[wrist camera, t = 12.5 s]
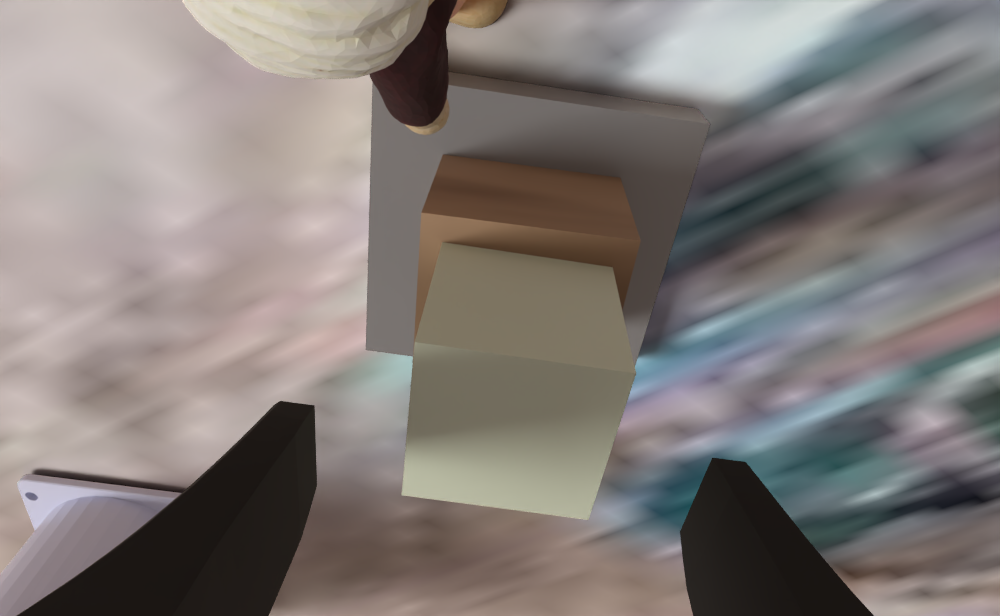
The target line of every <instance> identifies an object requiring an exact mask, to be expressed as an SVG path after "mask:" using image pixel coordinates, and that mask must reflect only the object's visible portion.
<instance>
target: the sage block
mask: <svg viewBox="0 0 1000 616" xmlns="http://www.w3.org/2000/svg"><path fill="white" fill-rule="evenodd" d="M635 375H636V371H635V366H634V362H633V357H632V353H631V348H630V344H629V339H628V335H627V330H626V325H625V321H624V316H623V312H622V307H621V303H620V298H619V294H618V289H617V285H616V280H615V276H614V271H613V267H607V266H600V265H594V264H587V263H580V262H573V261H567V260H560V259H553V258H546V257H540V256H533V255H526V254H519V253H512V252H506V251H499V250H492V249H485V248H479V247H472V246H465V245H458V244H452V243H445V242H442V245H441V248H440V252H439V256H438V259H437V263H436V267H435V270H434V274H433V277H432V281H431V285H430V288H429V292H428V296H427V299H426V303H425V307H424V310H423V314H422V317H421V321H420V325H419V328H418V332H417V336H416V339H415V345H414V356H413V368H412V380H411V391H410V403H409V414H408V426H407V438H406V449H405V461H404V473H403V484H402V495H404V496H411V497H419V498H426V499H434V500H441V501H449V502H456V503H464V504H472V505H479V506H487V507H494V508H502V509H509V510H517V511H524V512H532V513H539V514H547V515H554V516H562V517H569V518H577V519H585V520H588V519H589V516H590V513H591V510H592V507H593V504H594V501H595V498H596V495H597V492H598V489H599V486H600V483H601V480H602V476H603V473H604V470H605V467H606V464H607V461H608V458H609V455H610V452H611V449H612V446H613V443H614V440H615V437H616V433H617V430H618V427H619V424H620V421H621V418H622V415H623V412H624V409H625V406H626V403H627V400H628V397H629V394H630V391H631V387H632V384H633V381H634V378H635Z"/></svg>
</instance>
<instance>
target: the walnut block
mask: <svg viewBox="0 0 1000 616" xmlns="http://www.w3.org/2000/svg"><path fill="white" fill-rule="evenodd" d="M442 242H445V243H452V244H458V245H465V246H472V247H479V248H485V249H492V250H499V251H506V252H512V253H519V254H526V255H533V256H540V257H546V258H553V259H560V260H567V261H573V262H580V263H587V264H594V265H600V266H607V267H613V271H614V276H615V280H616V285H617V289H618V294H619V298H620V303H621V307H622V310H623V306H624V302H625V299H626V295H627V291H628V287H629V283H630V280H631V276H632V272H633V268H634V264H635V261H636V257H637V253H638V249H639V246H640V242H641V240H640V237H639V234H638V231H637V228H636V224H635V221H634V218H633V215H632V212H631V209H630V206H629V203H628V200H627V197H626V193H625V190H624V187H623V184H622V181H621V178H619V177H611V176H604V175H596V174H588V173H581V172H573V171H565V170H558V169H550V168H542V167H535V166H527V165H519V164H512V163H504V162H496V161H489V160H481V159H473V158H466V157H458V156H450V155H442V158H441V161H440V164H439V166H438V169H437V172H436V174H435V177H434V180H433V182H432V185H431V188H430V191H429V193H428V196H427V199H426V201H425V204H424V207H423V209H422V212H421V227H420V244H419V262H418V280H417V297H416V315H415V332H414V345H415V339H416V336H417V332H418V328H419V325H420V321H421V317H422V314H423V310H424V307H425V303H426V299H427V296H428V292H429V288H430V285H431V281H432V277H433V274H434V270H435V267H436V263H437V259H438V256H439V252H440V248H441V245H442ZM413 356H414V350H413Z"/></svg>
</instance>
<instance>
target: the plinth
mask: <svg viewBox="0 0 1000 616" xmlns="http://www.w3.org/2000/svg"><path fill="white" fill-rule="evenodd" d="M448 74H449V84H448V91H447V99H448V103H449V108H450V111H449V117H448V120H447V122H446V124H445V126H444V127H443V128H442V129H440V130H439V131H438V132H436V133H434V134H430V135H422V134H418V133H415V132H413V131H411V130H410V129H409V128H408V127H407V126H406V125H405V124H402V123H400V122H399V121H398V120H397V119H395V118H394V117H393V116H392V115H391V114H390V112H389V111H388V109H387V108H386V106H385V103H384V101H383V99H382V97H381V95H380V93H379V91H378V89H377V88H376V86H375V85H374V83H373V89H372V128H371V168H370V207H369V246H368V286H367V325H366V350H370V351H377V352H385V353H392V354H400V355H407V356H413V350H414V332H415V315H416V297H417V280H418V262H419V244H420V227H421V212H422V209H423V207H424V204H425V201H426V199H427V196H428V193H429V191H430V188H431V185H432V182H433V180H434V177H435V174H436V172H437V169H438V166H439V164H440V161H441V158H442V155H450V156H458V157H466V158H473V159H481V160H489V161H496V162H504V163H512V164H519V165H527V166H535V167H542V168H550V169H558V170H565V171H573V172H581V173H588V174H596V175H604V176H611V177H619V178H621V181H622V184H623V187H624V190H625V193H626V197H627V200H628V203H629V206H630V209H631V212H632V215H633V218H634V221H635V224H636V228H637V231H638V234H639V237H640V240H641V242H640V246H639V249H638V253H637V257H636V261H635V264H634V268H633V272H632V276H631V280H630V283H629V287H628V291H627V295H626V299H625V302H624V306H623V310H622V312H623V316H624V321H625V325H626V330H627V335H628V339H629V344H630V348H631V353H632V357H633V362H634V366H635V364H636V361H637V358H638V355H639V351H640V348H641V345H642V342H643V339H644V335H645V332H646V329H647V326H648V322H649V319H650V316H651V313H652V310H653V306H654V303H655V300H656V297H657V294H658V290H659V287H660V284H661V281H662V278H663V274H664V271H665V268H666V265H667V261H668V258H669V255H670V252H671V249H672V245H673V242H674V239H675V236H676V233H677V229H678V226H679V223H680V220H681V217H682V213H683V210H684V207H685V204H686V200H687V197H688V194H689V191H690V188H691V184H692V181H693V178H694V175H695V172H696V168H697V165H698V162H699V159H700V155H701V152H702V149H703V146H704V143H705V139H706V136H707V133H708V130H709V127H710V123H709V122H708V121H707V119H706V118H705V117H704V116H703V114H702V113H701V112H700V111H699V110H698V109H695V108H688V107H681V106H675V105H668V104H661V103H655V102H648V101H641V100H635V99H628V98H621V97H614V96H608V95H601V94H594V93H588V92H581V91H574V90H568V89H561V88H554V87H547V86H541V85H534V84H527V83H521V82H514V81H507V80H501V79H494V78H487V77H480V76H474V75H467V74H460V73H454V72H448Z"/></svg>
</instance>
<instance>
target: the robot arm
mask: <svg viewBox="0 0 1000 616" xmlns="http://www.w3.org/2000/svg"><path fill="white" fill-rule="evenodd" d="M17 486H18V489H19V491H20V494H21V496H22V499H23V502H24V504H25V507H26V509H27V512H28V514H29V517H30V519H31V522H32V524H33V527H34V529H35V531H34V533H33V534H32V535H31V536H30V538H29V539H28V540H27V541H26V543H25V544H24V545H23V546H22V548H21V549H20V550H19V551H18V553H17V554H16V555H15V556H14V558H13V559H12V560H11V561H10V563H9V564H8V565H7V566H6V567H5V569H4V570H3V571H2V572H1V574H0V616H269V613H270V611H271V609H272V606H273V604H274V602H275V599H276V597H277V595H278V592H279V590H280V588H281V585H282V583H283V581H284V578H285V576H286V573H287V571H288V569H289V566H290V564H291V562H292V559H293V557H294V554H295V552H296V550H297V547H298V545H299V542H300V540H301V537H302V534H303V531H304V527H305V524H306V521H307V518H308V514H309V511H310V507H311V504H312V500H313V497H314V493H315V490H316V487H317V475H316V442H315V409H314V405H306V404H299V403H291V402H283V401H280V402H278V403H277V404H275V405H274V406H273V407H272V408H271V409H270V410H269V411H268V412H267V413H266V414H265V415H264V416H263V417H262V418H261V419H260V420H259V421H258V422H257V423H256V424H255V425H254V426H253V427H252V428H251V429H250V430H249V431H248V432H247V433H246V434H245V435H244V436H243V437H242V438H241V439H240V440H239V441H238V442H237V443H236V444H235V445H234V446H233V447H232V448H231V449H230V450H229V451H227V452H226V453H225V454H224V455H223V456H222V457H221V458H220V459H219V460H218V461H217V462H216V463H215V464H214V465H212V466H211V467H210V468H209V469H208V470H207V471H206V472H205V473H204V474H203V475H202V476H200V477H199V478H198V479H197V480H196V481H195V482H194V483H193V484H192V485H191V486H189V487H188V488H187V489H186V490H185V491H184V492H183V493H177V492H169V491H161V490H153V489H145V488H137V487H130V486H122V485H114V484H106V483H98V482H90V481H82V480H74V479H66V478H58V477H50V476H42V475H34V474H26V475H24V476H23V477H22V478H21V479H20V480H19V481H18V483H17ZM680 535H681V544H682V554H683V563H684V571H685V578H686V586H687V591H688V595H689V599H690V604H691V608H692V612H693V616H874V615H873V614H872V613H871V612H870V611H869V610H868V609H867V608H866V607H865V605H864V604H863V603H862V602H861V601H860V600H859V599H858V598H857V597H856V596H855V595H854V593H853V592H852V591H851V590H850V589H849V588H848V587H847V585H846V584H845V583H844V582H843V581H842V580H841V579H840V577H839V576H838V575H837V574H836V573H835V572H834V571H833V569H832V568H831V567H830V566H829V565H828V563H827V562H826V561H825V560H824V559H823V558H822V556H821V555H820V554H819V553H818V552H817V550H816V549H815V548H814V547H813V545H812V544H811V543H810V542H809V541H808V539H807V538H806V537H805V536H804V534H803V533H802V532H801V531H800V530H799V528H798V527H797V526H796V525H795V523H794V522H793V521H792V520H791V518H790V517H789V516H788V515H787V513H786V512H785V511H784V510H783V508H782V507H781V506H780V505H779V503H778V502H777V501H776V499H775V498H774V497H773V496H772V494H771V493H770V492H769V491H768V489H767V488H766V487H765V486H764V484H763V483H762V482H761V481H760V479H759V478H758V477H757V476H756V474H755V473H754V472H753V471H752V469H751V468H750V467H749V466H748V465H747V463H746V462H741V461H733V460H726V459H718V458H712V460H711V462H710V464H709V467H708V469H707V471H706V474H705V476H704V478H703V480H702V483H701V485H700V487H699V490H698V492H697V494H696V496H695V499H694V501H693V503H692V506H691V508H690V510H689V512H688V515H687V517H686V519H685V522H684V524H683V526H682V529H681V531H680Z"/></svg>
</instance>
